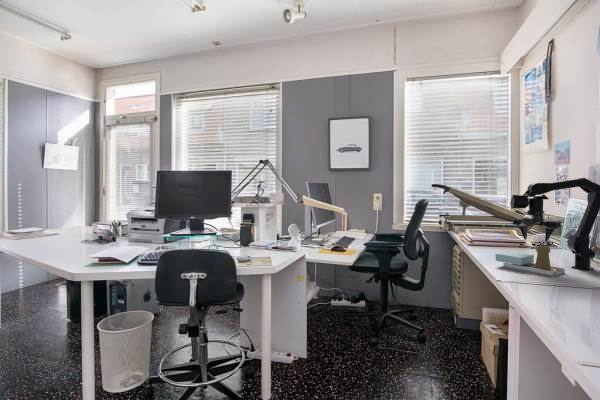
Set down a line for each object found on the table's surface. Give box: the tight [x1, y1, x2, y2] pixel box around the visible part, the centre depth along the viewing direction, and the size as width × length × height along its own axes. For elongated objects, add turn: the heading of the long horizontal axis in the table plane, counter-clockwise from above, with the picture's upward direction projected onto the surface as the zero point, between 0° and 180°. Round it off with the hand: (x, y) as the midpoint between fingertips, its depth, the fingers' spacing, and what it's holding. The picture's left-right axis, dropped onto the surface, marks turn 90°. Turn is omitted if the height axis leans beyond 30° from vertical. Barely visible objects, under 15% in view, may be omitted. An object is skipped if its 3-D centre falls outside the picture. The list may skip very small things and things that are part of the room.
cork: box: [535, 245, 552, 271], centre depth 149 cm, size 6×6×11 cm
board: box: [502, 262, 566, 278], centre depth 152 cm, size 12×20×2 cm, turn 30°
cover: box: [495, 251, 535, 265], centre depth 159 cm, size 12×12×4 cm
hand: (535, 240), depth 161 cm, fingers open, 9 cm apart
